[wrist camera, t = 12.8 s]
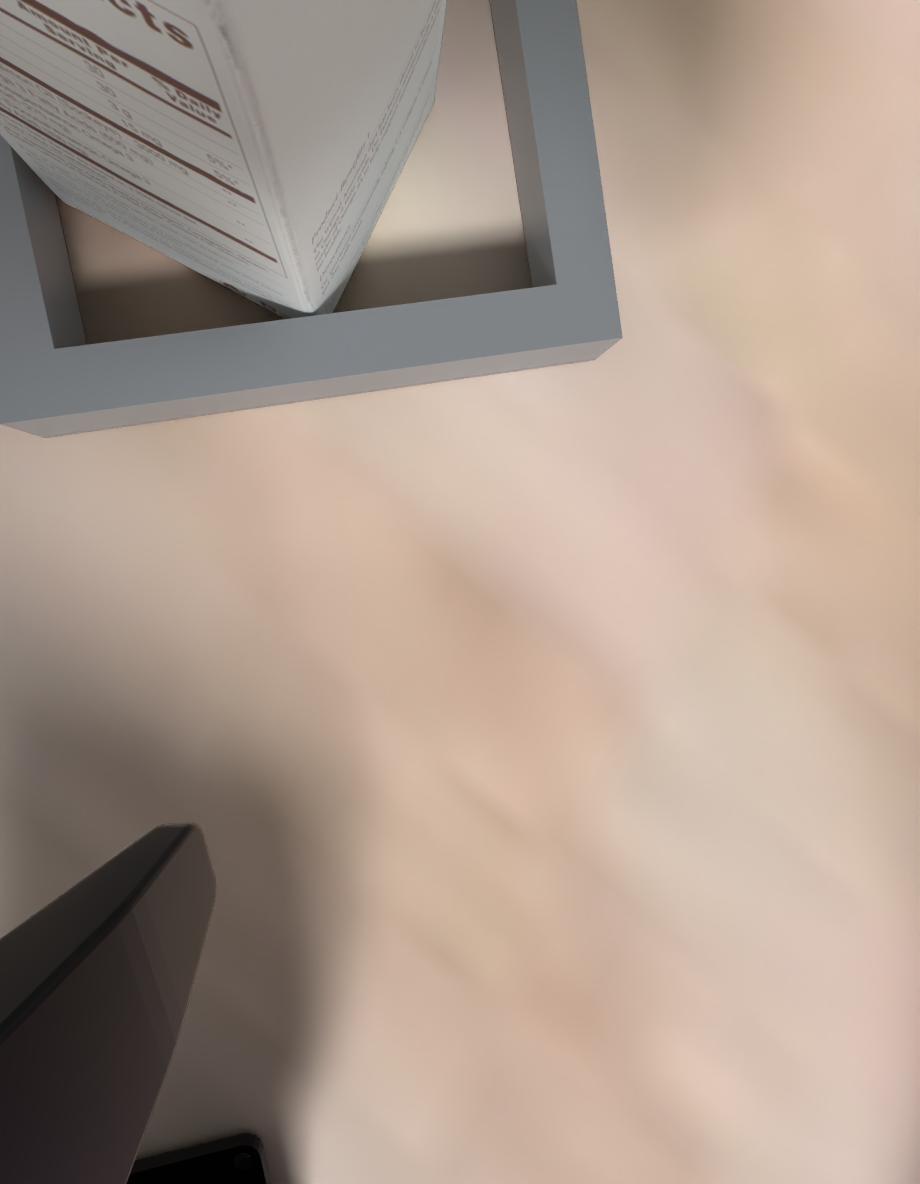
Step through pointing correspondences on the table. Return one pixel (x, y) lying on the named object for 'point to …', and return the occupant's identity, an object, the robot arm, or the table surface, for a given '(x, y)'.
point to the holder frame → (345, 339)
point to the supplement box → (225, 126)
